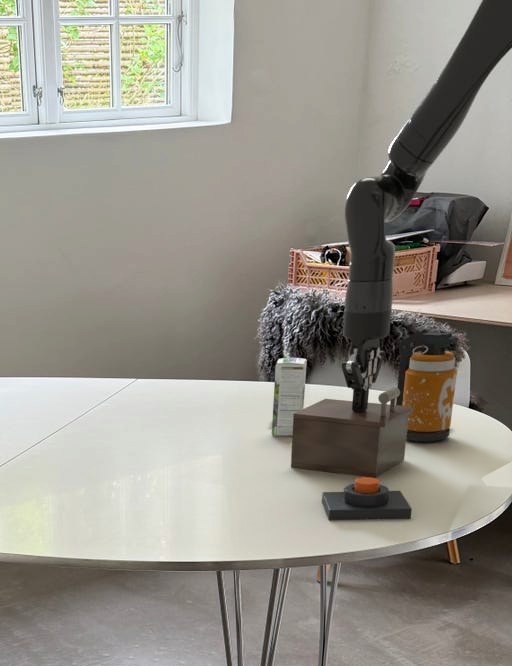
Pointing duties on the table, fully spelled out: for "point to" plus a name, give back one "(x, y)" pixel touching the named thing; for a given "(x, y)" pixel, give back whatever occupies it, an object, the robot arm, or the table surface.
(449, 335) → the canister
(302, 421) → the brown wooden box
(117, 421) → the table surface
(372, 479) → the button
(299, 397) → the syrup box
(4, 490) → the table surface
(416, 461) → the table surface
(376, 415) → the brown box lid
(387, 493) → the control block
